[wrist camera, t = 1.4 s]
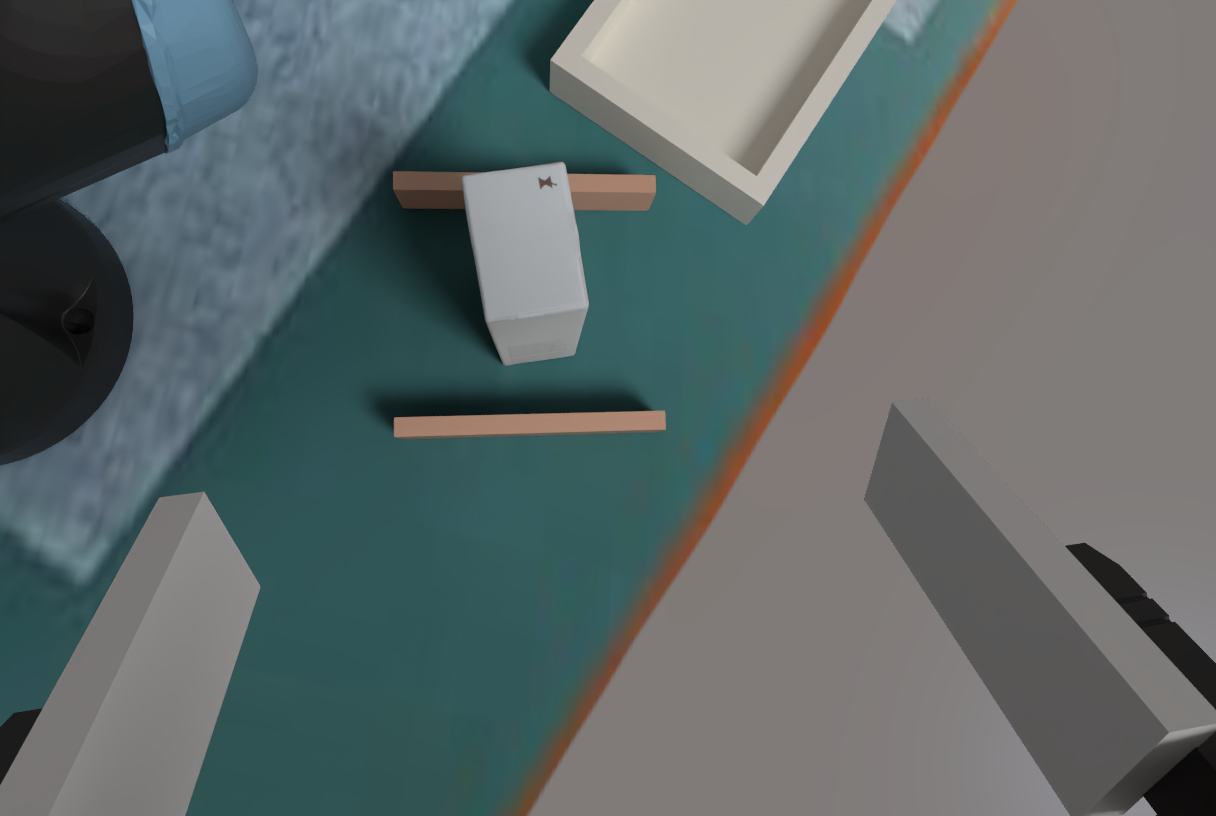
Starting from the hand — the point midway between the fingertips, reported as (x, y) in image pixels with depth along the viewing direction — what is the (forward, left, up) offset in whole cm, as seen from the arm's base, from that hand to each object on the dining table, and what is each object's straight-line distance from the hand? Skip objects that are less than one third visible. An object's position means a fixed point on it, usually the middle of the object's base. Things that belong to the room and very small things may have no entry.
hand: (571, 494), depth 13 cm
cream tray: (-13, +26, -23) cm, 37 cm away
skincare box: (-8, +5, -23) cm, 25 cm away
